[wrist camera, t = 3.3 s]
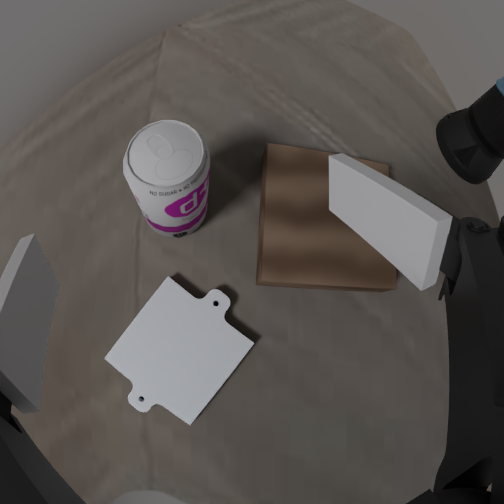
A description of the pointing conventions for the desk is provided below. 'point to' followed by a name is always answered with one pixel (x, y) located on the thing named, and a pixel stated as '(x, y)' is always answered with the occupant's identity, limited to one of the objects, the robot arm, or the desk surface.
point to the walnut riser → (312, 228)
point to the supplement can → (169, 176)
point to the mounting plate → (178, 351)
